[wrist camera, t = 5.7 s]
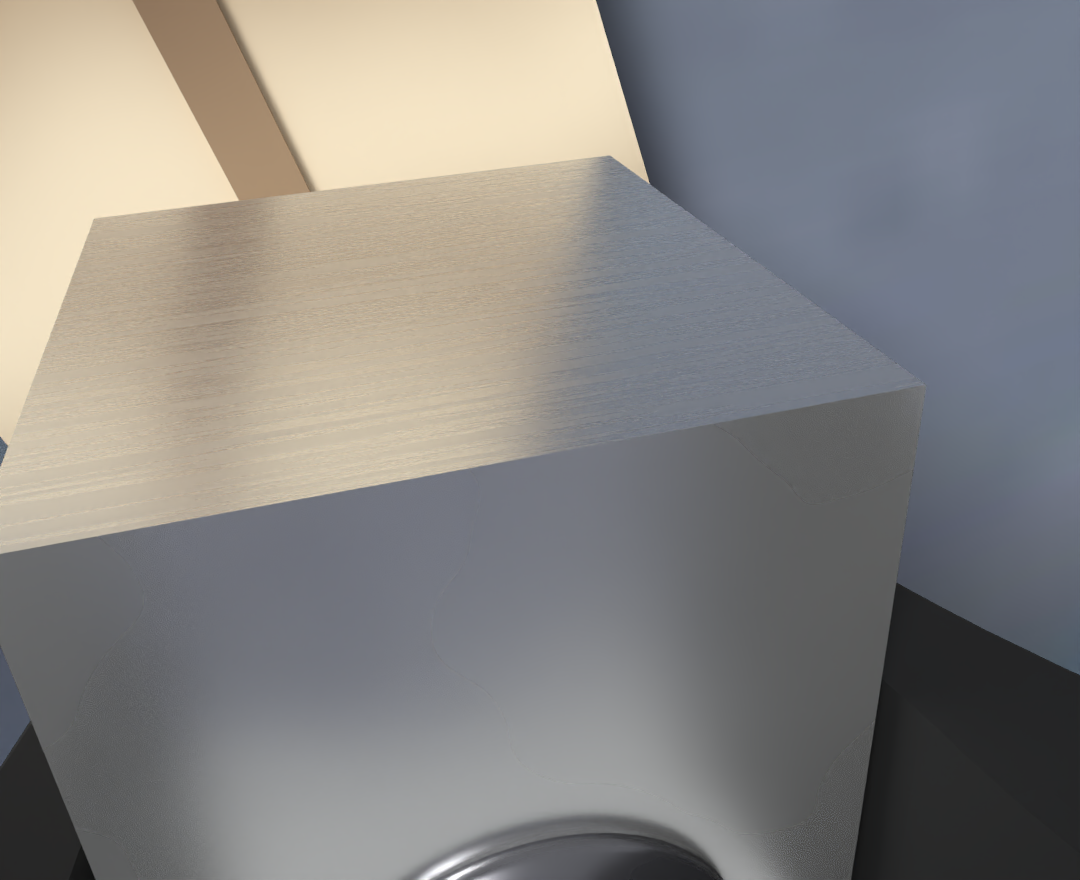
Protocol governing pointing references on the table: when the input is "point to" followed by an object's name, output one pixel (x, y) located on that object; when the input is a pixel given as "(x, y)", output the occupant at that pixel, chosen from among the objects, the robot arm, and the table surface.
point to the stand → (268, 115)
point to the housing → (453, 541)
